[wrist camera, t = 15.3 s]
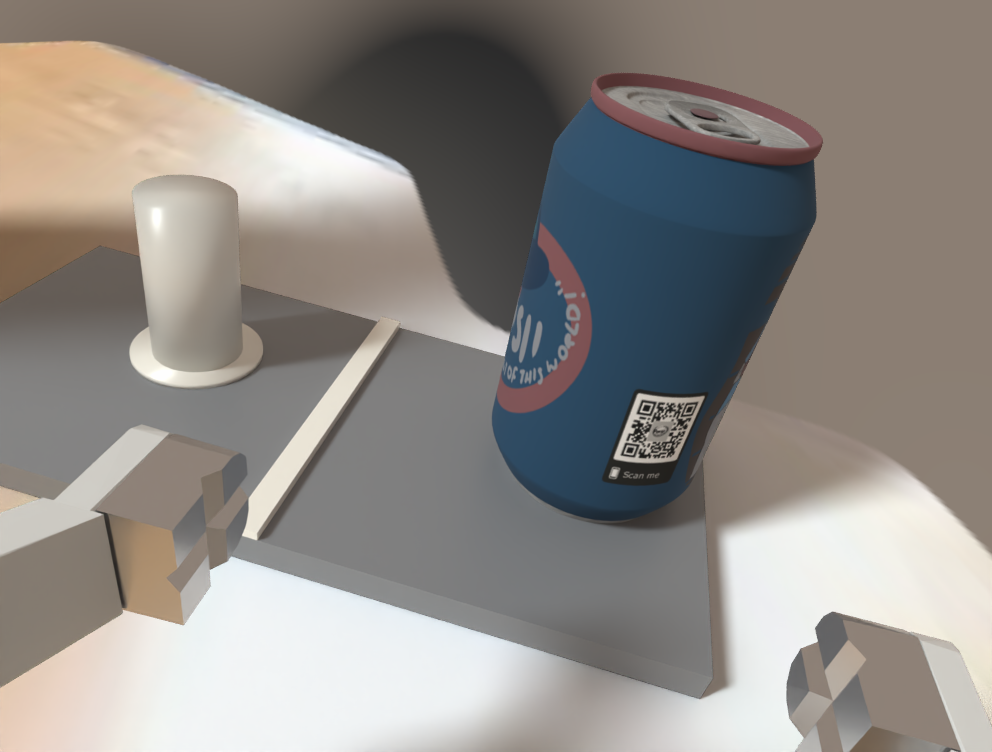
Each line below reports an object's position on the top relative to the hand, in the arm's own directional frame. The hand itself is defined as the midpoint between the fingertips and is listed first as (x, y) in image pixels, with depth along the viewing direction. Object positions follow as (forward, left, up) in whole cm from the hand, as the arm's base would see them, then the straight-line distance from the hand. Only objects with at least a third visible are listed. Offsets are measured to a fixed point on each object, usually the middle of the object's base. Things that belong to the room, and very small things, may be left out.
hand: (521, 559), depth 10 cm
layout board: (-7, +11, -9) cm, 16 cm away
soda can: (+2, +12, -8) cm, 15 cm away
